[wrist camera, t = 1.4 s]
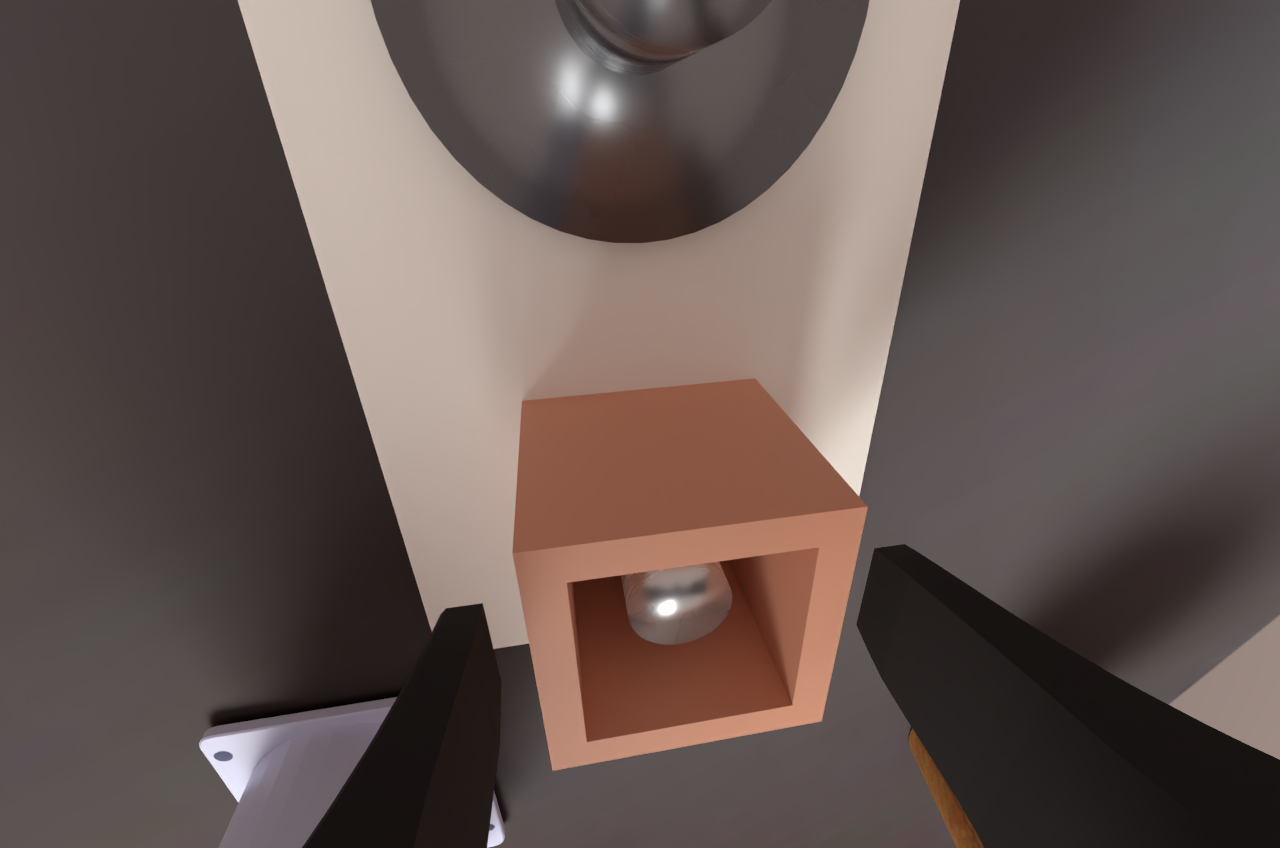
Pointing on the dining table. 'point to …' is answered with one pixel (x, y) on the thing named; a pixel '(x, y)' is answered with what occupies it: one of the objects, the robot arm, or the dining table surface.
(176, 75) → the dining table surface
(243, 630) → the dining table surface
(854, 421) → the board
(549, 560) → the collar
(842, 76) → the disc
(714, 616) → the stand rod
